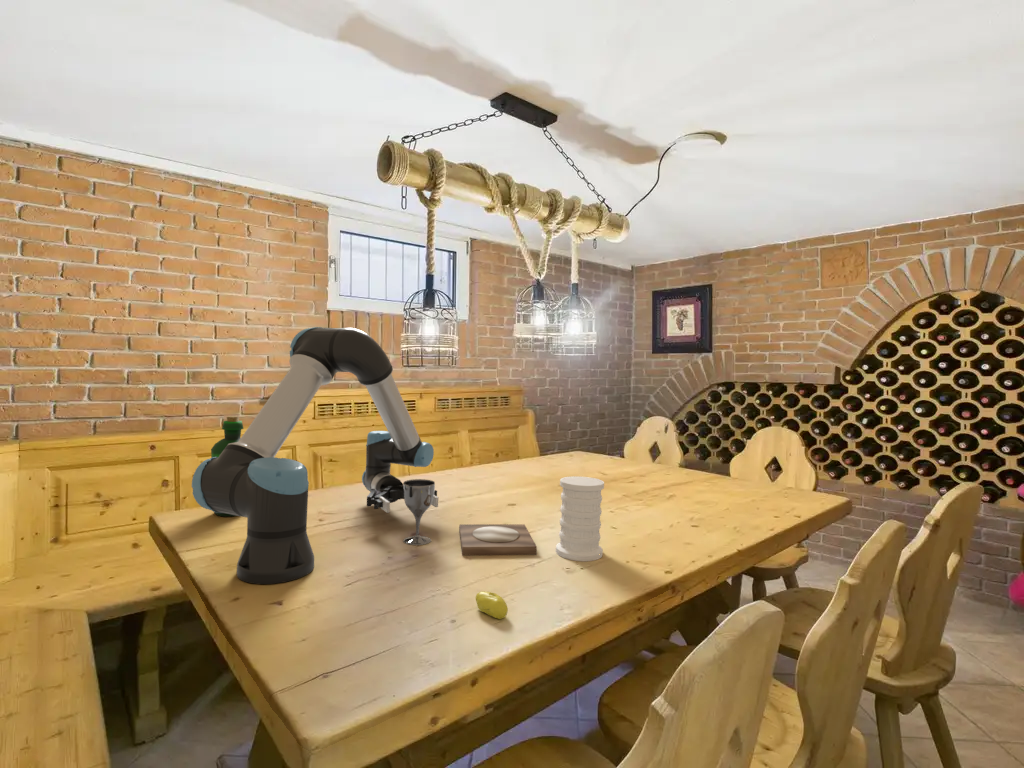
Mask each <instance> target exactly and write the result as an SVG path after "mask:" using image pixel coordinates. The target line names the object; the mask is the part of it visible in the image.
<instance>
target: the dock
mask: <svg viewBox="0 0 1024 768" xmlns="http://www.w3.org/2000/svg"><path fill="white" fill-rule="evenodd" d="M458 529H459V530H458V533H459V534H458V535H459V540H460V541H459V543H460V549H461V550H460V551H461V556H508V555H509V556H512V555H513V556H518V555H521V556H523V555H529V556H530V555H536V556H537V545H536V543H535V541H534V539H533V537H532V535H531V534H530V532H529V529H528V528H527V526H526V525H525V523H522V524H520V523H519V524H517V523H516V524H515V523H514V524H511V523H510V524H506V523H505V524H498V523H497V524H487V523H486V524H485V523H484V524H475V523H473V524H471V523H470V524H469V523H468V524H462V523H461V524H459V527H458Z"/></svg>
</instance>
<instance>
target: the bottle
mask: <svg viewBox="0 0 1024 768" xmlns="http://www.w3.org/2000/svg"><path fill="white" fill-rule="evenodd" d="M221 430H222V431H224V433H223V434H224V438H222V439H220V440H218V441H217V442H215V443H214V444H213V446H212V447H211V449H210V451H211V452H210V453H211V458H213V457H219V456H220V454H221V453H222V452H223V450H224V449H225V447H226V446H227V445H228V444H230V443H235V442H238V441H239V440H240V438H241V437H242V430H244V424H243V420H240V416H239V415H227V416H226V420H224V421H223V422H222V427H221ZM213 514H215V515H216V516H219V517H236V515H231V514H226V513H217V512H213Z"/></svg>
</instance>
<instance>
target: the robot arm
mask: <svg viewBox="0 0 1024 768" xmlns="http://www.w3.org/2000/svg"><path fill="white" fill-rule="evenodd" d="M289 345H290V346H289V348H291V349H290V350H289V365H290V369H289V370H288V372H286V374H285V375H284V377H283V378H282V380H281V381H280V382H279V384H278V385H277V387H275V390H274V391H273V393H272V394H271V395H270V396H269V398H268V399H267V401H266V402H265V403H264V404H263V406H262V408H261V409H260V410H259V412H258V413H257V415H256V416H255V417H254V419H253V420H252V422H250V424H249V426H248V427H247V429H246V430H245V431H244V432H243V434H242V435H241V436H240V440H239V441H238V442H235V443H230V444H228V445H227V446H226V447H225V449H224V450H223V452H222V453H221V454H220V456H219V457H213V458H207V459H205V460H204V461H202V462H200V464H199V465H198V466H197V468H195V471H194V473H193V476H192V480H191V488H192V497H193V498H194V500H195V501H196V503H197V504H198V505H199V506H200V507H202V508H203V509H205V510H208V511H212V512H213V513H214V512H217V513H226V514H231V515H236V516H238V517H242V518H247V523H246V527H247V528H246V539H245V541H244V544H243V548H242V550H241V553H240V556H239V557H238V560H237V564H236V577H237V579H239V580H240V581H243V582H246V583H248V584H249V583H250V584H255V585H256V584H258V585H269V584H280V583H286V582H290V581H294V580H297V579H300V578H303V577H304V576H306V575H309V574H310V573H311V572H312V571H314V568H315V555H314V552H313V549H312V548H313V547H312V545H311V542H310V539H309V536H308V532H307V529H308V528H307V524H308V523H307V522H308V521H307V520H308V503H309V501H308V500H309V484H310V483H309V482H310V481H309V479H308V477H309V476H308V469H307V467H306V466H305V464H303V463H302V462H300V461H297V460H295V459H291V458H286V457H282V458H280V457H276V455H277V454H278V452H279V451H280V449H281V448H282V446H283V445H284V443H285V442H286V440H287V439H288V437H289V436H290V434H291V432H292V431H293V429H294V427H295V426H296V425H297V424H298V421H299V420H300V418H301V417H302V415H303V414H304V412H305V411H306V409H307V408H308V406H309V405H310V403H311V402H312V400H313V398H314V397H315V395H316V394H317V392H318V391H319V389H320V388H321V386H326V385H329V384H330V383H331V382H332V380H333V378H334V377H335V375H336V374H337V373H338V372H339V373H350V374H353V375H354V376H355V377H356V378H357V380H358V383H359V384H361V385H362V386H365V388H366V390H367V392H368V393H369V395H370V398H371V399H372V401H373V404H374V405H375V407H376V410H377V412H378V414H379V416H380V417H381V420H382V422H383V424H384V425H385V427H386V429H387V430H373V431H370V432H368V433H367V437H366V445H365V447H366V451H365V454H366V455H365V457H366V458H365V470H364V472H363V473H362V475H361V482H362V485H363V486H364V487H365V488H366V490H367V491H369V494H368V495H367V497H366V506H367V507H368V508H369V507H371V506H372V505H373V509H374V510H378V509H379V508H380V509H381V510H382V511H384V512H385V513H387V514H388V513H391V512H390V510H391V509H390V508H391V504H392V503H395V502H398V501H399V500H404V494H403V482H402V481H401V480H400V479H399V478H397V477H396V476H395V475H393V474H391V467H392V466H391V465H392V464H394V465H395V464H396V465H401V466H408V467H409V466H410V467H415V468H416V467H417V468H418V467H419V468H420V467H421V468H426V467H428V466H430V465H431V463H432V461H433V460H434V459H433V458H434V456H435V454H434V453H435V451H434V447H433V445H432V444H431V443H430V442H426V441H422V440H421V437H420V436H419V433H418V431H417V429H416V426H415V424H414V422H413V419H412V417H411V415H410V413H409V411H408V409H407V405H406V403H405V401H404V399H403V397H402V395H401V393H400V391H399V388H398V386H397V384H396V383H397V382H396V381H395V378H394V377H393V371H394V367H393V366H392V363H391V361H390V359H389V357H388V355H387V353H386V352H385V351H384V349H383V348H382V347H381V346H380V344H379V343H378V342H377V341H376V340H375V339H374V338H373V337H372V336H370V335H369V334H368V333H366V332H364V331H363V330H362V329H361V330H360V329H357V328H355V327H354V328H353V327H322V326H316V327H315V326H314V327H310V328H309V327H308V328H305V329H302V330H300V331H298V332H297V333H296V334H295V335H294V337H293V338H292V341H291V343H290V344H289ZM430 506H433V507H434V508H439V496H438V490H436V489H435V491H434V497H433V501H432V504H431V505H430ZM236 516H235V517H236Z"/></svg>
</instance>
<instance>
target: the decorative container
mask: <svg viewBox="0 0 1024 768" xmlns="http://www.w3.org/2000/svg"><path fill="white" fill-rule="evenodd" d="M559 486H560V487H561V488H562V491H561V494H560V499H561V505H560V508H559V509H560V513H561V517H560V519H559V525H560V530H559V532H558V533H559V535H558V536H559V539H560V542H558V543H557V544H555V553H556V554H557V555H558V556H559V557H560V558H563V559H566V560H570V561H576V562H592V561H597V560H599V559H601V558H602V557H603V552H604V551H603V548H602V546H600V545H599V544H600V541H601V534H600V529H601V526H602V523H601V516H602V508H601V503H602V501H603V497H602V490H604V489H605V481H603V480H601V479H599V478H597V477H596V478H595V477H588V476H573V475H572V476H565V477H561V478H560V479H559ZM599 554H600V555H599Z"/></svg>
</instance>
